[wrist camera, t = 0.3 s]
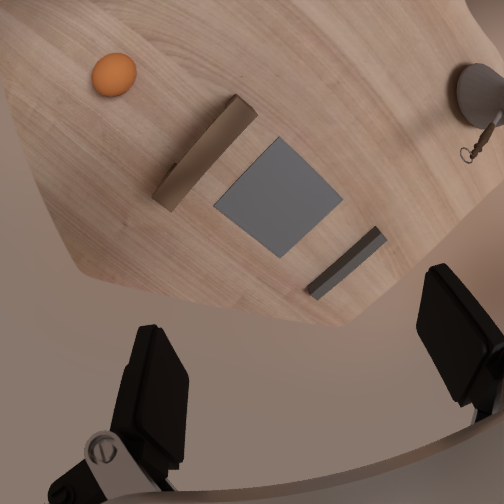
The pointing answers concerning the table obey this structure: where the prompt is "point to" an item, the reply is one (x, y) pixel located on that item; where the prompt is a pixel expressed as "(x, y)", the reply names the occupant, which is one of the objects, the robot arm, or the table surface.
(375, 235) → the wall
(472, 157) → the coffee pot
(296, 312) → the table surface
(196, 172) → the bridge
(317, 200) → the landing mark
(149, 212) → the table surface
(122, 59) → the ball
